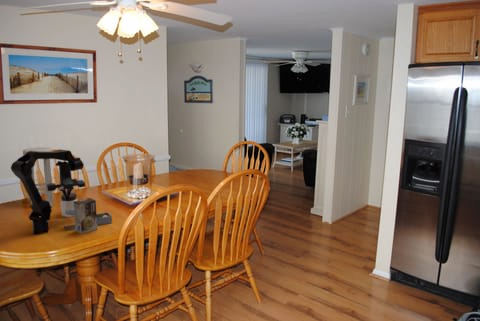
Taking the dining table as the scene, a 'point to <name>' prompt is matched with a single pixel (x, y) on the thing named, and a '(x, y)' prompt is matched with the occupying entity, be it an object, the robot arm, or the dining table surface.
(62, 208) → the jar
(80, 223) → the coffee box
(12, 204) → the dining table surface
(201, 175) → the dining table surface
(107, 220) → the grey open box
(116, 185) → the dining table surface
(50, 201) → the stool
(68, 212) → the lever
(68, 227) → the catapult base
